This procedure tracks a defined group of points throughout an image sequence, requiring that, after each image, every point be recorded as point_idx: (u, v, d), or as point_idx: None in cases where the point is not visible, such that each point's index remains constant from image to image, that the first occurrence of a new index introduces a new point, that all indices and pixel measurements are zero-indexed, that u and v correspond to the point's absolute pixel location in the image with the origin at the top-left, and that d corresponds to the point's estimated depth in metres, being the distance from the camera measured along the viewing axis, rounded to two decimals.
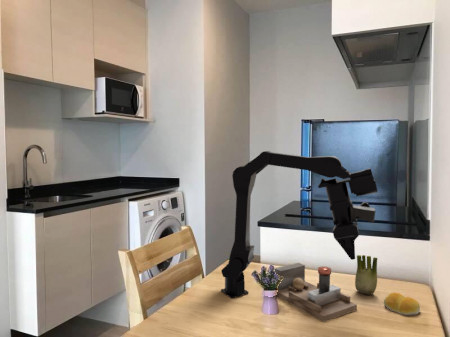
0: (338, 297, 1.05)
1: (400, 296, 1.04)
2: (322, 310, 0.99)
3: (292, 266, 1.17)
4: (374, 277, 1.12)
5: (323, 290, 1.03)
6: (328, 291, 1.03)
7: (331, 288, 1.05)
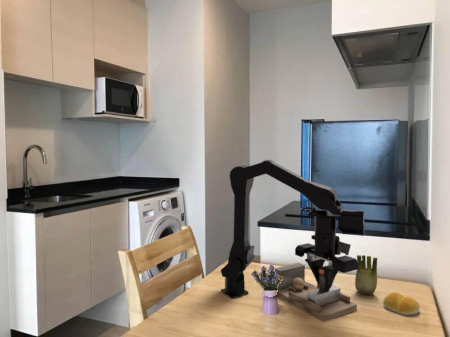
0: (338, 297, 1.05)
1: (400, 296, 1.04)
2: (322, 310, 0.99)
3: (292, 266, 1.17)
4: (373, 277, 1.12)
5: (323, 290, 1.03)
6: (328, 291, 1.03)
7: (331, 288, 1.05)
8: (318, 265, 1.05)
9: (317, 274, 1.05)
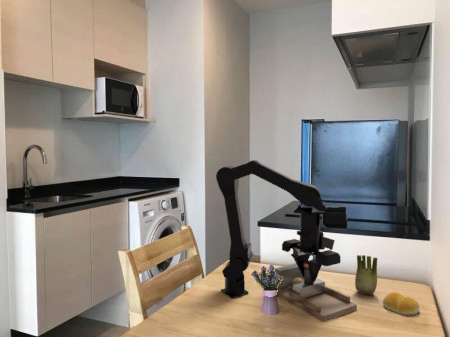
0: (322, 290, 1.10)
1: (399, 296, 1.04)
2: (322, 310, 0.99)
3: (292, 266, 1.17)
4: (374, 277, 1.12)
5: (308, 283, 1.08)
6: (313, 284, 1.08)
7: (316, 281, 1.10)
8: (303, 259, 1.10)
9: (302, 268, 1.10)
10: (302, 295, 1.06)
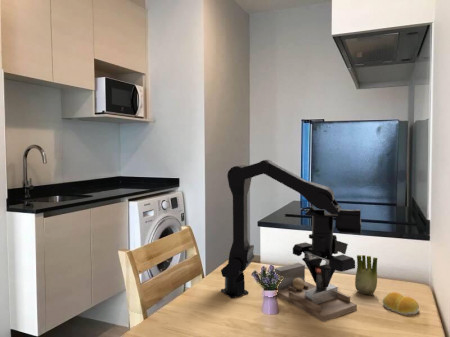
0: (335, 296, 1.06)
1: (399, 296, 1.04)
2: (322, 310, 0.99)
3: (292, 266, 1.17)
4: (373, 277, 1.12)
5: (320, 289, 1.04)
6: (325, 290, 1.04)
7: (328, 287, 1.06)
8: (315, 264, 1.06)
9: (314, 273, 1.06)
10: (314, 301, 1.02)
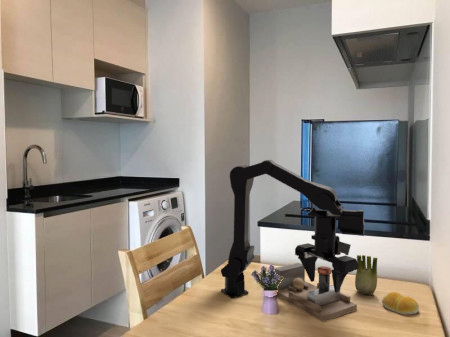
0: (338, 297, 1.05)
1: (399, 295, 1.04)
2: (322, 310, 0.99)
3: (292, 266, 1.17)
4: (373, 277, 1.12)
5: (323, 290, 1.03)
6: (328, 291, 1.03)
7: (331, 288, 1.05)
8: (311, 262, 1.08)
9: (310, 271, 1.07)
10: (317, 303, 1.01)
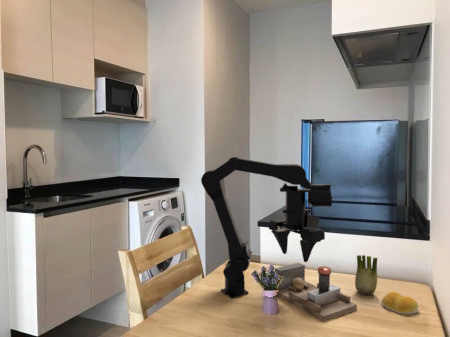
0: (338, 297, 1.05)
1: (398, 295, 1.04)
2: (322, 310, 0.99)
3: (292, 266, 1.17)
4: (374, 277, 1.12)
5: (323, 290, 1.03)
6: (328, 291, 1.03)
7: (331, 288, 1.05)
8: (283, 236, 1.15)
9: (282, 244, 1.14)
10: (317, 303, 1.01)
